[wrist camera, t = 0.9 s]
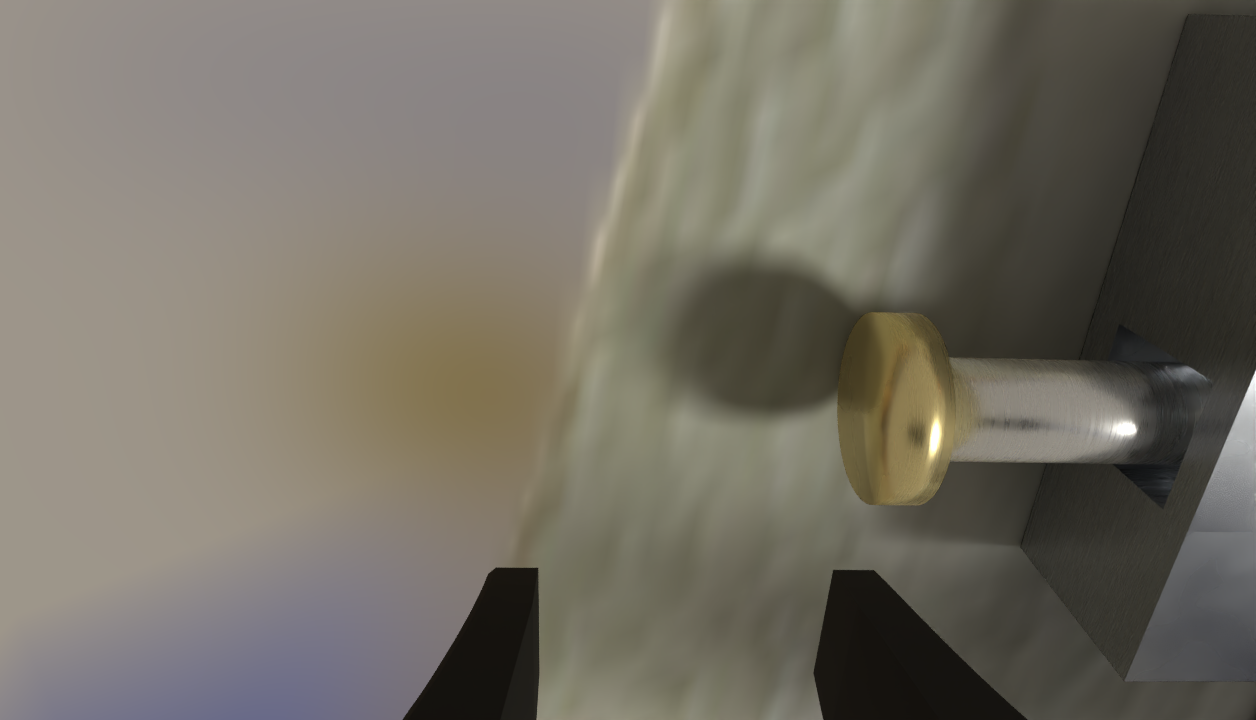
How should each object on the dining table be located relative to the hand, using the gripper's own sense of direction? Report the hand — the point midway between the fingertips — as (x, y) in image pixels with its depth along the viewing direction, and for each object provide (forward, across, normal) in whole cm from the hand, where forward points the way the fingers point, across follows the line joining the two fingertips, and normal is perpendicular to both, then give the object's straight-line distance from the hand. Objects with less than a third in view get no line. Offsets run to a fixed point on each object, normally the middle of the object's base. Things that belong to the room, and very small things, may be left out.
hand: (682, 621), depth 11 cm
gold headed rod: (+9, -10, 0) cm, 13 cm away
